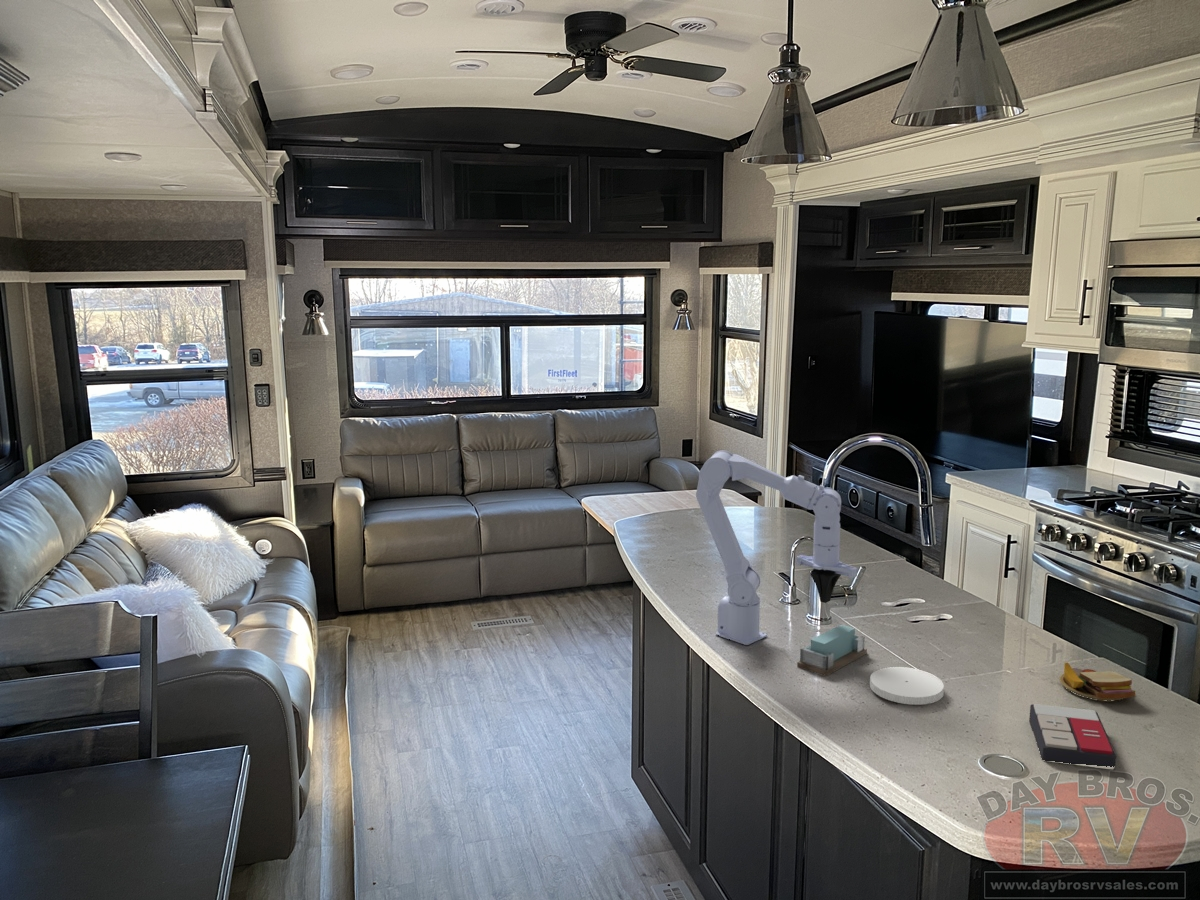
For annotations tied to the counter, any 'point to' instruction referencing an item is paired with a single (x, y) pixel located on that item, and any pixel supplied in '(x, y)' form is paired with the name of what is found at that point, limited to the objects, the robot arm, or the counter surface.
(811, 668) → the end cap board
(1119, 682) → the toy sandwich meal
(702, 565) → the counter surface
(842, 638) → the teal rectangular block
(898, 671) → the plastic lid
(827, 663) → the end caps
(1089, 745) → the calculator
